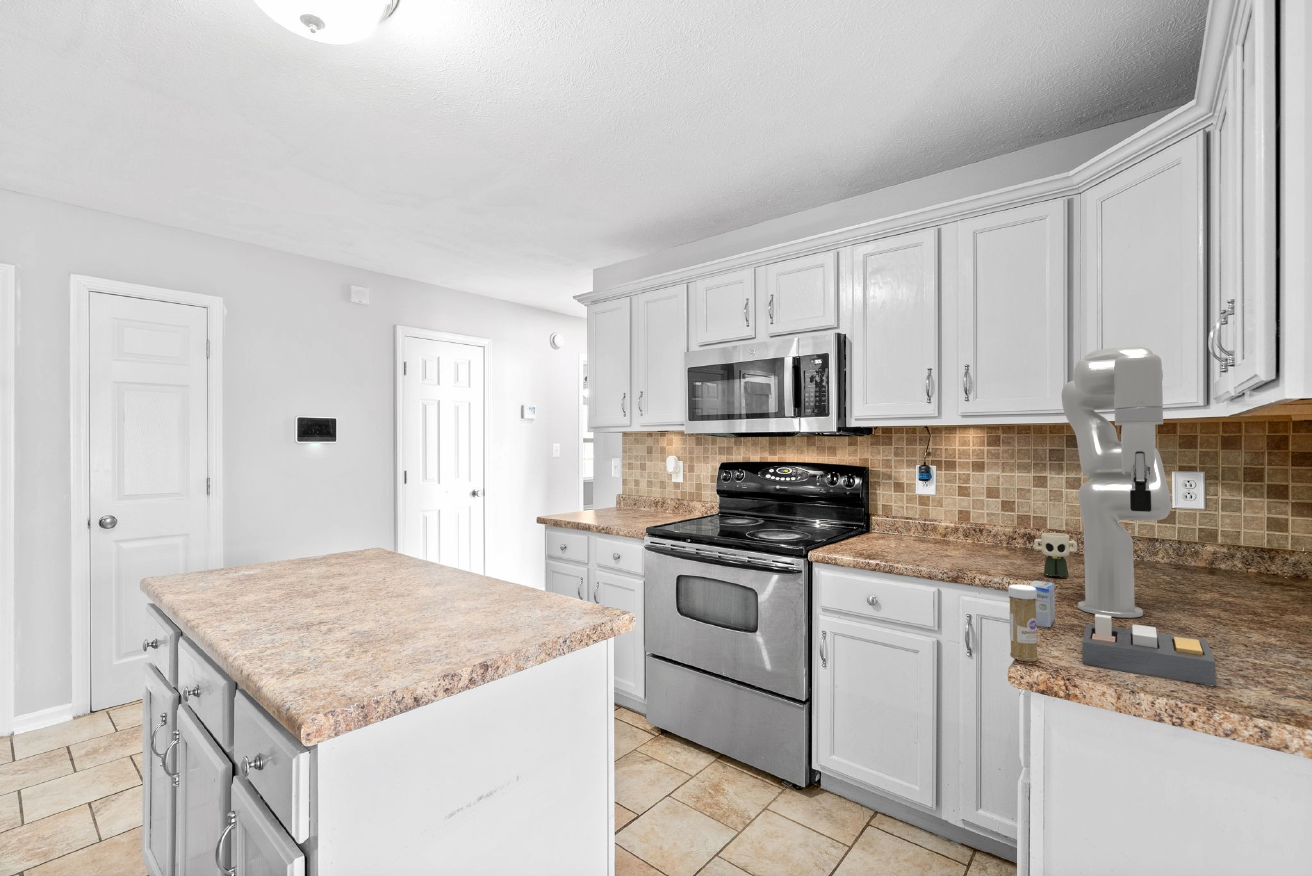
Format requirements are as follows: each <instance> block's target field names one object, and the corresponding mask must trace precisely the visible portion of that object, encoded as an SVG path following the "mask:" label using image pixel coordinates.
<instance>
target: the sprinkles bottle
mask: <svg viewBox="0 0 1312 876" xmlns="http://www.w3.org/2000/svg"><path fill="white" fill-rule="evenodd" d="M1007 590H1008V594H1007V595H1008V598H1009V640H1010V653H1009V655H1010V657H1011V658H1012V659H1014V660H1016V659H1017V660H1016V661H1020V662H1027V663H1028V662H1031V663H1032V662H1037V661H1038V659H1039V658H1038V629H1037V627H1038V626H1036V599H1035V598H1037V591H1036V588H1035V587H1032V586H1029V585H1028V584H1010V585H1008V589H1007ZM1017 657H1018V658H1017Z"/></svg>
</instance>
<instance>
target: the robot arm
mask: <svg viewBox="0 0 1312 876" xmlns="http://www.w3.org/2000/svg"><path fill="white" fill-rule="evenodd" d="M1162 364H1163V363H1162V359H1161V357H1160V356H1159V355H1157V354H1154V353H1153V351H1151V350H1150V349H1149V348H1148V347H1145V346H1129V347H1128V346H1127V347H1118V348H1117V347H1114V348H1102V349H1101V348H1100V349H1096V350H1092V351H1091V352H1089V353H1087V354H1086V355H1084V357H1083V358H1081V359H1078V361H1077V363H1076V364H1075V368H1074V371H1073V380H1071V381H1069V382H1066V384H1065V385H1063V387H1062V390H1061V405H1062V409H1063V412H1064V415H1065V417H1066V419H1067V422H1068V424H1069V425H1070V426H1071V428H1072V430H1073V433H1075V437H1076V443H1077V449H1078V456H1079V462H1080V467H1081V470H1082V473H1083V475H1084V476H1085V477H1086V478H1088V479H1089V480H1088V481H1086V482H1084V483H1082V485H1080V487H1079V488H1078V489H1079V490H1078V491H1077V492H1078V497H1077V498H1078V503H1079V508H1080V513H1081V518H1082V526H1083V548H1084V549H1083V552H1084V553H1083V554H1084V591H1085V592H1084V593H1085V600H1082V601H1079V602H1077V607H1078V609H1079V610H1081V611H1083V612H1086V613H1088V614H1089V613H1090V614H1094V615H1095V614H1100V615H1108V616H1111V618H1112V617H1113V618H1122V619H1123V618H1126V619H1127V618H1128V619H1130V618H1131V619H1132V618H1140V617H1142V616H1144V610H1143V609H1142V608H1141V607H1140V606H1139V607H1138V606H1136V605H1135V603H1136V602H1135V574H1134V573H1135V572H1134V571H1135V570H1134V567H1135V566H1134V542H1133V538H1132V535H1131V534H1130V533H1129V532H1128V530H1126V528H1124V526H1122V525H1121V524H1120V522H1119V521H1126V520H1129V521H1160V520H1161V521H1162V520H1164V519H1166V518H1167V517H1168V516H1169V515H1170V513H1171V509H1172V500H1171V496H1170V495H1171V494H1170V490H1169V486H1168V482H1167V478H1166V473H1165V469H1164V465H1163V461H1162V458H1161V454H1160V451H1159V450H1158V449H1157V448H1156V425H1164V408H1163V407H1164V401H1163V400H1164V398H1163V395H1164V394H1163V379H1164V372H1163V368H1162V367H1163V365H1162ZM1107 410H1113V411H1114V425H1113V424H1112V423H1111V422H1110V421H1109V420H1108V419H1107V418H1106V417H1104V416H1103V415H1101V414H1099V413H1098V412H1096V411H1107ZM1115 426H1121V428H1120V429H1121V431H1120V432H1121V433H1120V440H1119V439H1118V434H1117V429H1116V427H1115Z"/></svg>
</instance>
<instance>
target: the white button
mask: <svg viewBox="0 0 1312 876" xmlns="http://www.w3.org/2000/svg"><path fill="white" fill-rule="evenodd" d="M1132 630H1133V645H1139V646H1146V647H1153V648H1157V634H1156V633H1157V629H1156V626H1150V625H1149V626H1147V625H1141V624H1140V625H1139V624H1132Z"/></svg>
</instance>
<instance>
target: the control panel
mask: <svg viewBox="0 0 1312 876" xmlns="http://www.w3.org/2000/svg"><path fill="white" fill-rule="evenodd" d="M1093 634H1095V623H1086V624H1085V630H1084V634H1083V638H1082V665H1085V666H1090V665H1091V666H1090V667H1097V668H1103V669H1110V670H1114V671H1121V672H1128V673H1133V674H1139V675H1145V676H1150V677H1151V676H1152V677H1158V678H1163V679H1170V680H1174V681H1175V680H1176V681H1180V682H1181V681H1182V682H1186V681H1189V682H1188V683H1192V682H1193V684H1198V683H1200V684H1199V685H1204V686H1205V685H1206V686H1211V685H1213V687H1217V679H1216V678H1217V675H1216V671H1217V670H1216V660H1215V658H1214V655H1213V653H1212V650H1211V648H1210V645H1209V643H1208V640H1207V639H1206V638H1199V637H1191V636H1184V635H1176V634H1171V633H1170V634H1169V633H1160V632H1156V634H1157V648H1153V647H1146V646H1139V645H1133V628H1124V627H1116V626H1112V636H1114V637H1115V642H1108V641H1102V640H1095V639H1092V636H1093ZM1174 637H1181V638H1189V639H1196V640H1199V643H1200V646H1201V648H1202V651H1203V655H1199V654H1192V653H1185V652H1178V651H1175V648H1174Z"/></svg>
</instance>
